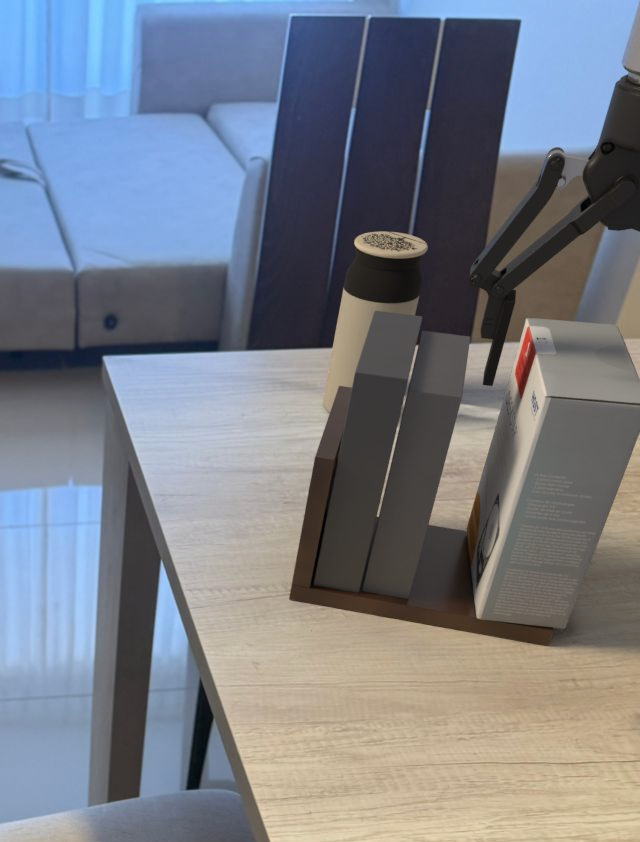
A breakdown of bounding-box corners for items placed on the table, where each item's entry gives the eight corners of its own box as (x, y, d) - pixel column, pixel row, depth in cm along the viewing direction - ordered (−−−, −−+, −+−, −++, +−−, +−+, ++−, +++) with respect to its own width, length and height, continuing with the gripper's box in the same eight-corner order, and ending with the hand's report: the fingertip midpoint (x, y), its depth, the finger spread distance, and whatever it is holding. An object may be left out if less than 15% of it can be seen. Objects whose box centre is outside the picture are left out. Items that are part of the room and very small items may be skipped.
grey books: (421, 525, 109) (474, 322, 96) (408, 602, 99) (465, 387, 87) (334, 511, 111) (374, 310, 98) (312, 585, 101) (354, 372, 88)
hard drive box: (462, 530, 109) (525, 315, 95) (547, 540, 108) (622, 323, 94) (473, 621, 97) (546, 391, 84) (568, 632, 96) (657, 401, 83)
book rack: (548, 558, 108) (597, 420, 99) (548, 646, 97) (602, 500, 88) (313, 520, 113) (339, 385, 104) (288, 599, 102) (314, 457, 93)
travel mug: (353, 429, 128) (388, 258, 116) (307, 403, 133) (336, 236, 121) (407, 415, 131) (447, 247, 119) (360, 389, 136) (394, 226, 124)
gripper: (481, 77, 77) (411, 388, 91) (901, 103, 71) (756, 431, 85) (485, 55, 82) (419, 353, 96) (877, 78, 76) (744, 391, 91)
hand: (577, 390), depth 91 cm, fingers open, 13 cm apart
